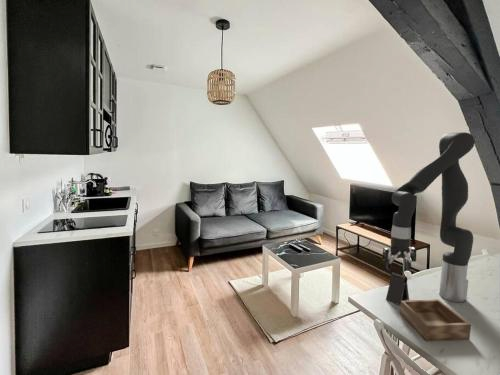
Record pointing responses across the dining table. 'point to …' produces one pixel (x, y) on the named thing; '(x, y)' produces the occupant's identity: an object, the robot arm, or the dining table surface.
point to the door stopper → (397, 289)
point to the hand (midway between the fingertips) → (398, 270)
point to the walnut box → (435, 320)
